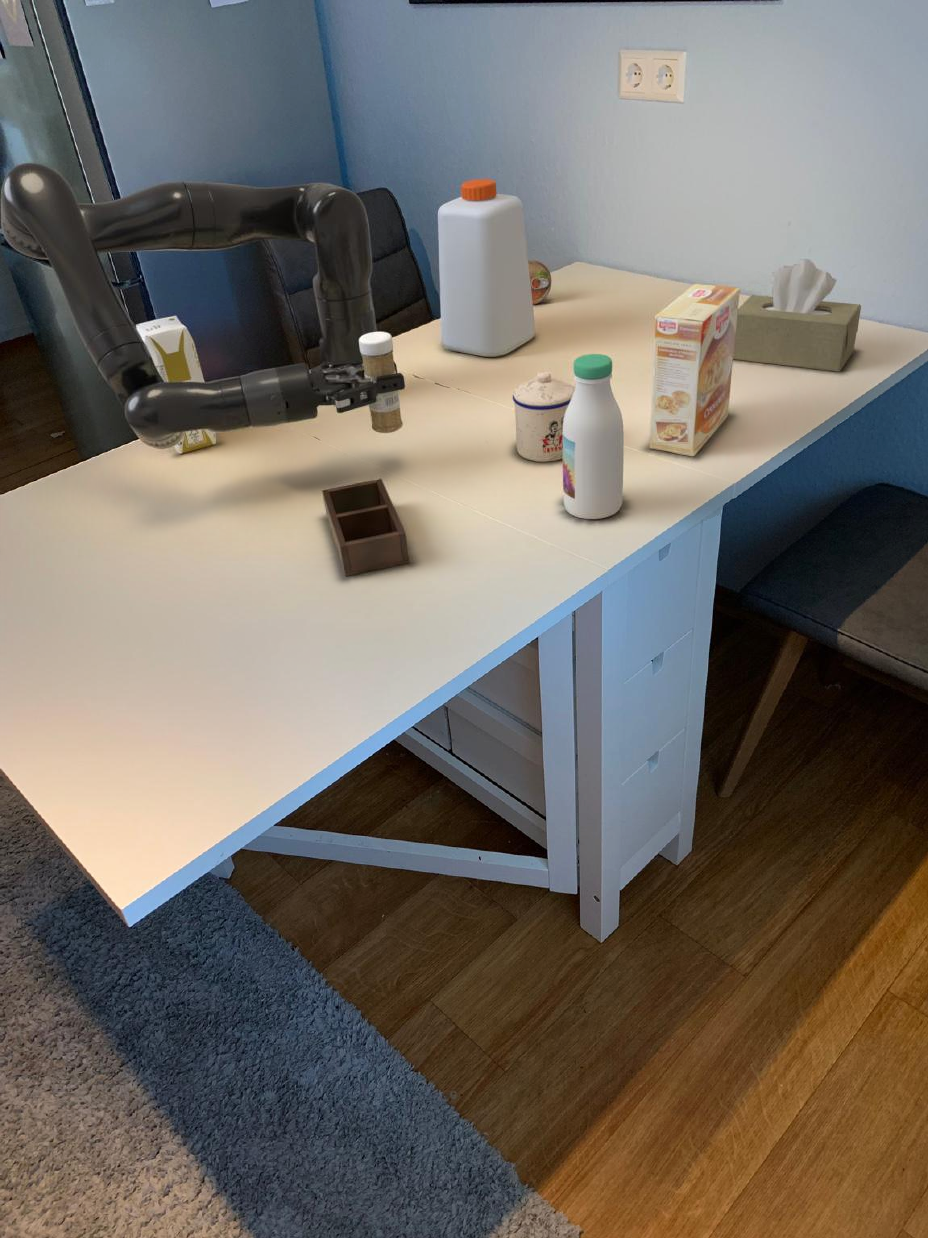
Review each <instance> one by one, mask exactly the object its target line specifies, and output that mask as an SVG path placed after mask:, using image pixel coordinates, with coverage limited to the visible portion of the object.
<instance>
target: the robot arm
mask: <svg viewBox="0 0 928 1238" xmlns="http://www.w3.org/2000/svg"><path fill="white" fill-rule="evenodd" d="M0 225H1V226H0V227H1V231H2V235H3V237H4V239H5V240H6V242H7V243H8V244H9V246H11V247H12V249H14V250H15V251H16V252H18V253H20V254H22V255H24V256H27V257H29V258H33V259H38V260H48V262H49V263H50V265H51V267H52V269H53V271H54V273H55V276H56V278H57V280H58V282H59V286H60V288H61V289H62V290H61V291H62V293H63V296H64V298H65V301H66V304H67V306H68V309H69V312H70V315H71V318H72V320H73V323H74V325H75V328H76V330H77V333H78V334H79V336H80V338H81V341H82V342H83V344H84V346H85V348H86V350H87V352H88V354H89V356H90V357H91V359H92V360H93V362H94V364H95V366H96V367H97V369H98V371H99V372H100V374H101V376H102V377H103V379H104V380H105V381H106V383H107V384H108V386H109V387H111V389H112V390H113V392H114V393H115V396H116V398H117V400H118V401H119V403H120V405H121V407H122V409H123V411H124V415H125V419H126V421H127V424H128V426H129V427H130V428H131V429H132V431H133V432H134V434H135V435H136V436H137V438H138V439H139V440H140V441H141V442H142V443H143V444H145V445H146V446H149V447H151V448H153V449H156V450H166V449H171V448H173V447H174V446H175V445H177V444H178V443H179V442H180V441H181V440H182V438H183V436H184V434H185V432H186V431H194V430H202V429H206V430H209V431H212V432H215V433H216V434H217V433H218V434H221V433H231V432H236V431H242V430H246V429H251V428H252V429H253V428H268V427H274V426H279V425H284V424H285V425H286V424H290V423H291V424H292V423H297V422H301V421H307V420H311V419H312V420H313V419H316V418H317V417H318V414H319V411H318V407H320V406H321V407H322V406H335V410H336V413H337V414H343V413H346V412H350V411H353V410H356V409H360V408H362V407H365V406H369V404H372V403H375V402H377V399H376V397H378V396H379V394H382V393H387V392H393V391H398V392H399V391H403V390H404V389H405V388H406V383H405V377H404V375H403V373H401V372H398V367H397V364H396V362H395V361H394V366H395V371H396V374H390V375H384V376H379V377H376V378H373V377H372V378H365V374H364V372H365V371H364V365H363V358H362V355H361V352H360V347H359V338H360V337H361V336H363V335H365V334H368V333H372V332H378V328H377V321H376V313H375V307H374V299H373V292H372V291H373V290H372V283H371V279H372V273H373V268H374V267H373V253H372V244H371V233H370V225H369V219H368V214H367V211H366V207H365V205H364V203H363V201H362V199H360V197H359V196H358V195H357V194H356V193H355V192H353V191H351V190H350V189H347V188H345V187H341V186H338V185H336V184H332V183H329V182H314V183H313V182H311V183H304V184H297V185H296V184H295V185H287V186H273V187H261V186H259V187H258V186H252V185H244V184H238V183H237V184H236V183H226V182H212V181H211V182H210V181H186V180H185V181H183V180H182V181H180V180H179V181H177V180H176V181H166V182H161V183H157V184H154V185H151V186H149V187H145V188H142V189H141V190H137V191H136V192H133V193H131V194H128V195H125V196H123V197H120V198H118V199H115V200H110V201H105V202H96V203H95V202H94V203H88V202H87V203H83V202H81V203H80V202H78V200H77V197H76V194H75V192H74V190H73V187H71V185H70V183H69V182H68V181H67V180H66V178H65V177H64V176H62V174H60V173H59V172H58V171H56V170H55V169H54V168H52V167H50V166H47V165H46V164H41V163H37V162H23V163H20V164H17V165H15V166H14V167H12V168H11V169H10V170H9V171H8V172H7V173H6V175H5V177H4V179H3V182H2V186H1V189H0ZM262 240H287V241H299V242H305V243H306V242H307V243H310V244H314V247H315V255H316V262H317V273H316V274H315V275H314V276H313V277H312V288H313V293H314V298H315V303H316V309H317V311H316V312H317V315H318V321H319V328H320V333H321V338H320V339H319V341H318V345H319V351H320V356H321V360H322V362H321V363H320V364H319V365H317V366H315V367H313V368H311V369H310V368H309V365H308V364H307V363H305V362H301V363H295V364H289V365H282V366H278V367H271V368H266V369H260V370H255V371H252V372H248V373H246V374H242V375H237V376H230V377H226V378H221V379H219V378H218V379H214V380H211V381H204V382H164V380H163V379H162V377H161V376H160V374H159V372H158V371H157V369H156V367H155V364H154V362H153V359H152V357H151V354H150V352H149V350H148V348H147V346H146V344H145V343H144V341H143V339H142V337H141V336H140V334H139V332H138V330H137V328H136V324H135V323H134V322H133V320H132V318H131V316H130V315H129V313H128V310H127V309H126V308H125V306H124V304H123V302H122V300H121V298H120V297H119V295H118V293H117V291H116V289H115V287H114V285H113V283H112V281H111V279H110V277H109V275H108V272H107V271H106V269H105V266H104V264H103V262H102V260H101V258H100V256H99V254H109V253H110V254H111V253H125V252H128V253H129V252H157V251H158V252H159V251H160V252H161V251H163V252H164V251H176V252H177V251H179V252H200V251H221V250H227V249H231V248H232V249H233V248H236V247H239V246H244V245H247V244H250V243H254V242H258V241H262Z"/></svg>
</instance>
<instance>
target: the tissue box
mask: <svg viewBox="0 0 928 1238" xmlns="http://www.w3.org/2000/svg"><path fill="white" fill-rule="evenodd" d="M772 277H773V278H772V288H771V293H772V296H768V295H756V294H751V295H750V296H749V297H748V298H747V299H746V300H745V302H743V303H742V304H741V305H740V307H738V314H737V324H736V334H735V344H734V354H733V360H735V361H736V360H737V361H744V362H754V363H761V364H769V365H778V366H787V367H795V368H801V369H802V368H803V369H811V370H819V371H827V372H828V371H829V372H836V373H839V372H841V371H842V369H843V367H844V366H845V365H846V363H847V362H848V360H849V358H850V357H851V355H852V354H853V352H854V350H855V344H856V339H857V333H858V331H859V324H860V317H861V309H862V305H861V304H857V303H850V302H849V303H846V302H835V301H824V300H825V298H827V297H828V296H829V295H830V294H831V292H832V291H833V289H834V288H835V285H836V284H837V282H838V279H836V278H834V277H833V276H832V274H831V273H829V272H828V271H827V270H822V269H819V268H817V267H816V265H815V263H814V262H813V261H811V259H808V258H801V259H799V261H798V262H797V263H795V264H793V265H782V266H780V267H778V269H777V270H775V271H772Z"/></svg>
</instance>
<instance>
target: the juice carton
mask: <svg viewBox="0 0 928 1238" xmlns="http://www.w3.org/2000/svg"><path fill="white" fill-rule="evenodd" d="M135 327H136V329H137V330H138V332H139V334H140V336H141V337H142V339H143V341H144V343H145V344H146V346H147V348H148V350H149V352H150V354H151V357H152V359H153V362H154V364H155V367H156V369H157V371H158V372H159V374H160V376H161V377H162V379H163V380H164V382H205V379H204V375H203V372H202V367H201V363H200V360H199V356H198V352H197V348H196V344H195V341H194V339H193V337H192V336H191V333H190V331H189V330H188V328H187V326H185V325H184V324H182V322H181V321H180V319H179V318H178V316H177V315H173V316H172V315H171V316H167V317H162V318H157V319H153V320H149V321H144V322H141V323H137V324H135ZM216 444H217V433H215V432H212V431H209V430H206V429H202V430H194V431H186V432H185V434H184V436H183V438H182V440H181V441H180V442H179V443H178V444H177V445H175V446H173V447H174V449H175V450H176V452H177V453H178V454H185V453H189V452H192V451H195V450H196V451H197V450H199V449H203V448H207V447H211V446H214V445H216Z"/></svg>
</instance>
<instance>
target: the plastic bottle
mask: <svg viewBox="0 0 928 1238" xmlns="http://www.w3.org/2000/svg"><path fill="white" fill-rule="evenodd" d="M460 193H461V196H459V197H457V198H455V199H452V200H450V201H448V202H446V203H443V204H442V205H441V206H440V207H439V208H438V211H437V229H438V230H437V232H438V233H437V236H438V269H439V272H438V273H439V302H440V303H439V305H440V308H439V309H440V334H441V335H440V339H441V344H442V346H443V347H444V348H445V349H447V350H448V351H452V352H457V353H463V354H468V355H473V356H474V355H475V356H480V357H487V358H494V357H496V358H497V357H500V356H501V357H502V356H505V355H507V354H509V353H511V352H513V351H514V350H516V349H518V348H519V347H521V346H522V345H524V344H526V343H527V342H529V341H530V340H532V339H533V338H534V336H535V334H536V323H535V322H536V321H535V313H534V304H533V302H532V293H531V284H530V274H529V265H528V261H529V257H528V256H529V255H528V246H527V237H526V228H525V227H526V226H525V219H524V210H523V203H522V200H521V199H520V198H519V197H518V196H515V195H513V194H512V195H511V194H509V195H508V194H503V193H497V183H496V181H495V180H493V179H489V178H488V179H487V178H479V179H478V178H477V179H471V180H467V181H464V182H462V184H461V185H460Z"/></svg>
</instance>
